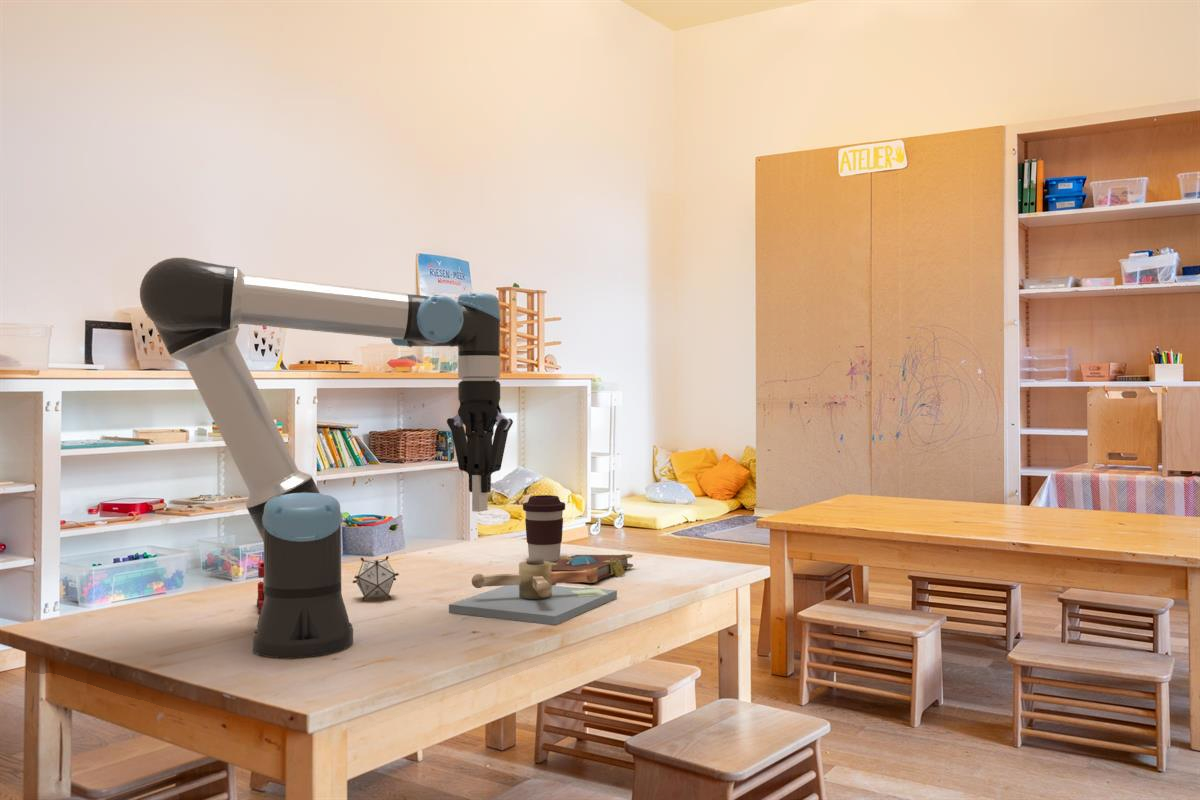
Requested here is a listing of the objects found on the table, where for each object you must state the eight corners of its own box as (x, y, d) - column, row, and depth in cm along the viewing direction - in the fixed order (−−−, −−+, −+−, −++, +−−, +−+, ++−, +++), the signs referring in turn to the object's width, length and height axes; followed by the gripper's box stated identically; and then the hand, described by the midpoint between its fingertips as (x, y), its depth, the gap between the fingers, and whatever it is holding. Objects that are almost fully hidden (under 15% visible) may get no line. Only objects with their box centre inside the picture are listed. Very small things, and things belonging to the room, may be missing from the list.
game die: (381, 619, 190) (384, 583, 184) (342, 602, 191) (344, 566, 185) (404, 589, 197) (408, 553, 191) (367, 572, 198) (370, 537, 192)
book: (521, 590, 205) (519, 565, 205) (574, 570, 227) (573, 548, 227) (592, 592, 198) (590, 567, 198) (640, 571, 220) (638, 548, 220)
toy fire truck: (275, 602, 188) (274, 552, 188) (278, 618, 175) (278, 563, 175) (256, 604, 187) (256, 553, 187) (258, 620, 174) (258, 565, 174)
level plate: (557, 625, 168) (556, 610, 168) (448, 612, 178) (448, 598, 178) (618, 598, 190) (618, 584, 190) (518, 588, 200) (518, 575, 200)
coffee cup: (569, 562, 229) (568, 498, 229) (526, 564, 227) (526, 499, 227) (561, 555, 239) (560, 493, 239) (520, 557, 237) (519, 494, 236)
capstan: (477, 612, 170) (477, 573, 170) (466, 586, 193) (466, 551, 193) (611, 605, 175) (611, 567, 175) (585, 580, 198) (585, 546, 198)
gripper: (521, 379, 179) (521, 510, 179) (461, 380, 185) (462, 506, 185) (498, 379, 172) (499, 515, 172) (437, 380, 178) (437, 511, 178)
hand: (479, 510), depth 179 cm, fingers closed
